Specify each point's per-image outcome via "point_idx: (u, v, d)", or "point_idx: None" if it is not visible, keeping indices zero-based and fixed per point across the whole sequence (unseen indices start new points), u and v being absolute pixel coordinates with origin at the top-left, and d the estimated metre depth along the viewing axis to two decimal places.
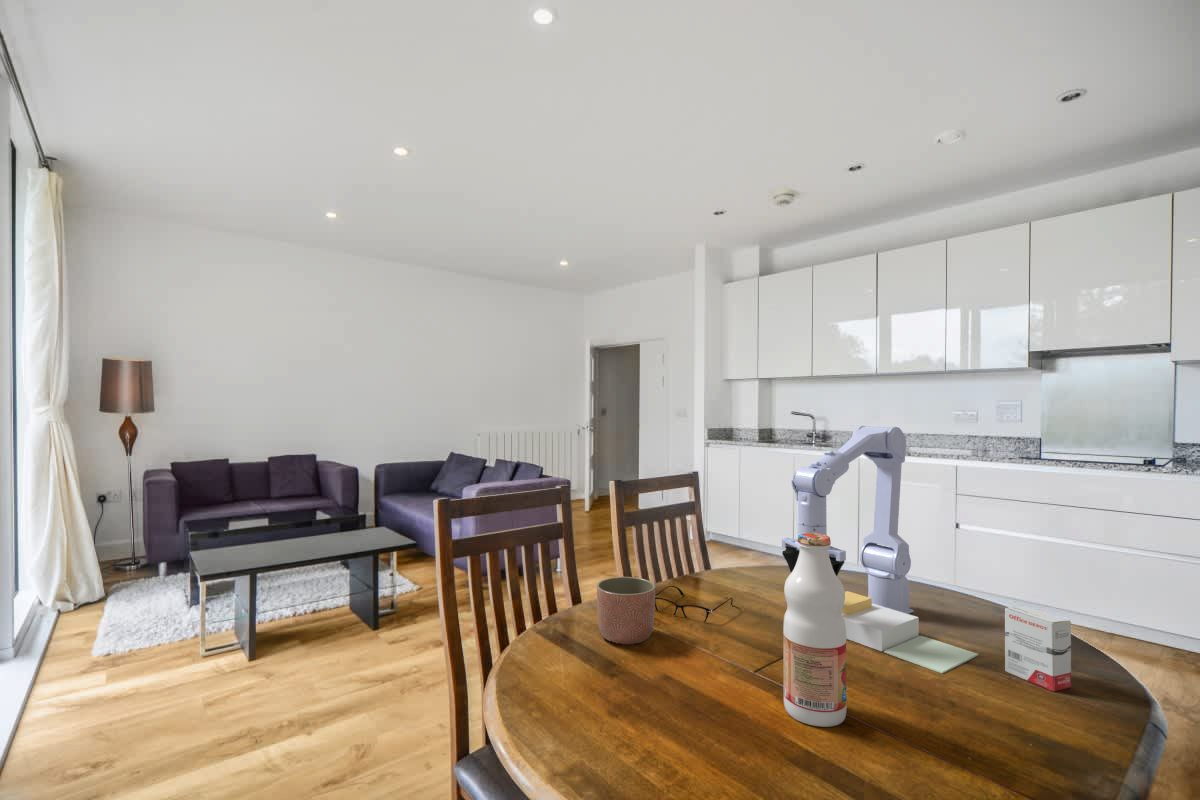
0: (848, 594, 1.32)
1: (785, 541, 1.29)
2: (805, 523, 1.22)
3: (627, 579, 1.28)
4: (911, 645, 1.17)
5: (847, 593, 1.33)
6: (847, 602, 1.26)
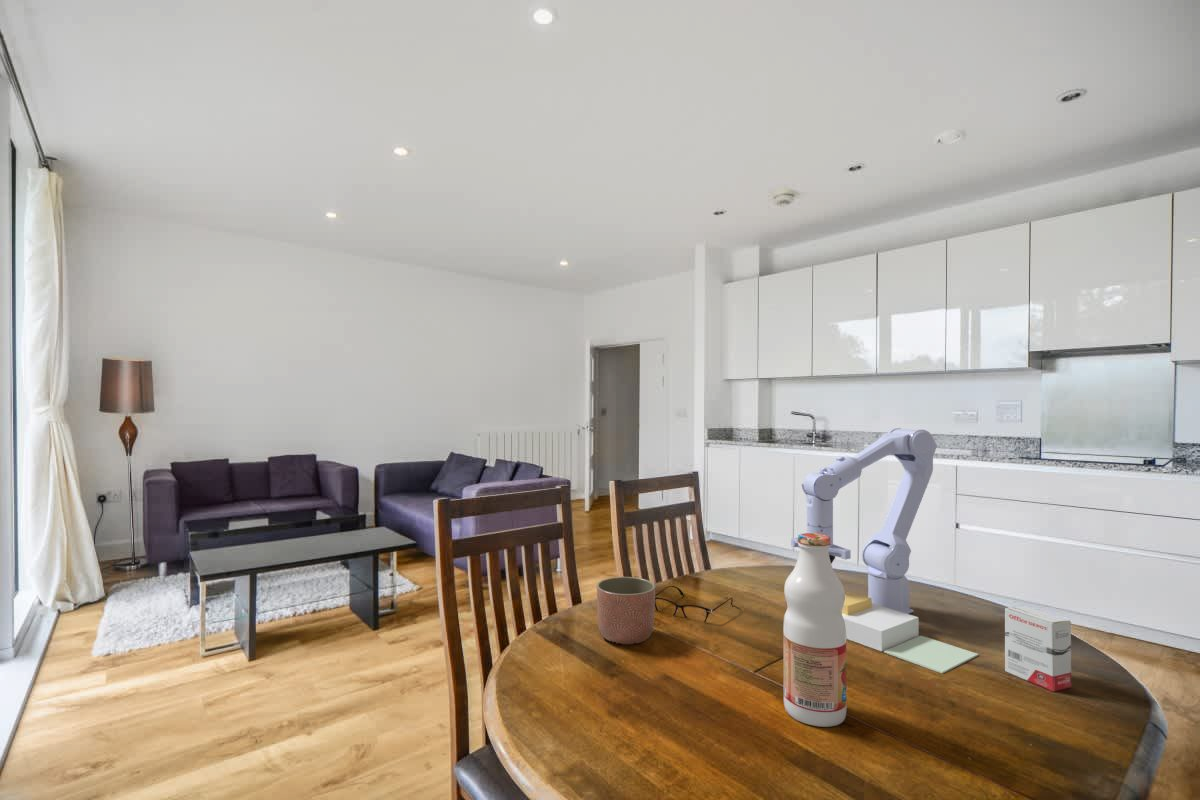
0: (848, 594, 1.32)
1: (794, 541, 1.40)
2: (809, 523, 1.34)
3: (627, 579, 1.28)
4: (911, 645, 1.17)
5: (847, 593, 1.33)
6: (847, 602, 1.26)
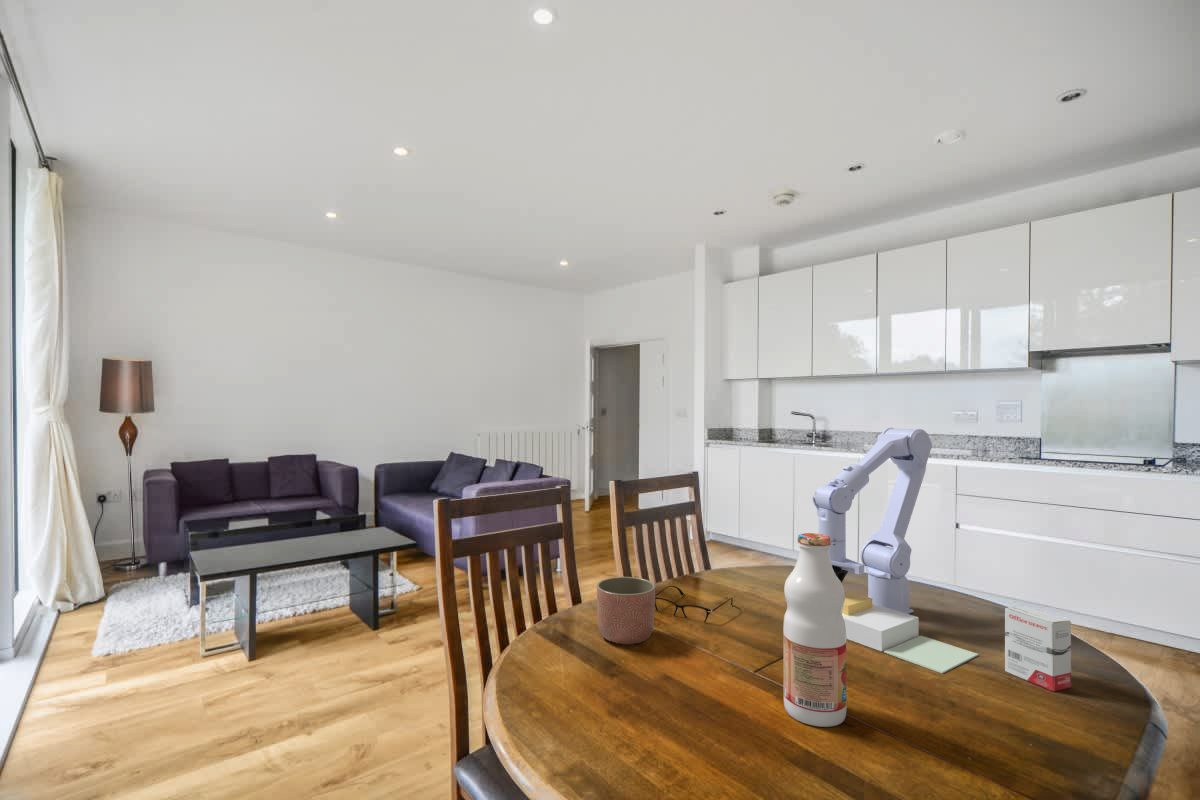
0: (849, 594, 1.32)
1: None
2: None
3: (627, 579, 1.28)
4: (911, 645, 1.17)
5: (848, 593, 1.32)
6: (848, 602, 1.26)
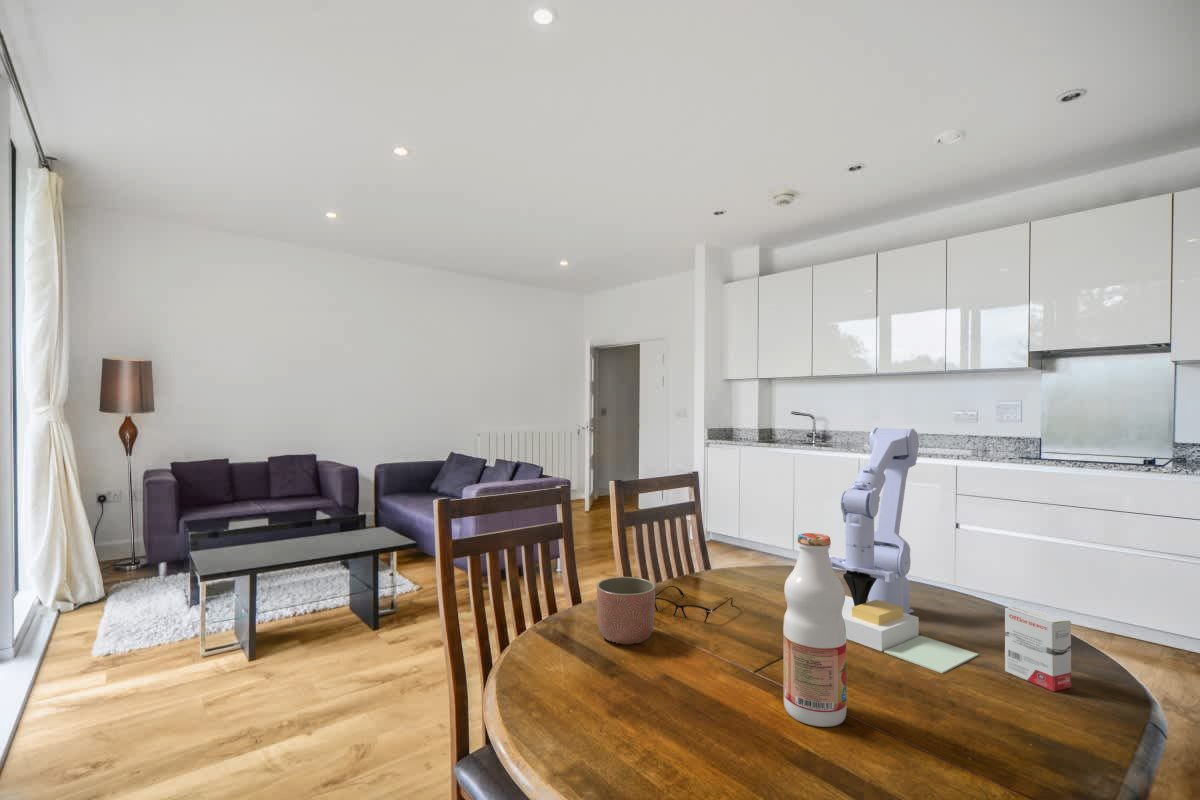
0: (878, 603, 1.26)
1: (832, 560, 1.31)
2: (857, 544, 1.24)
3: (627, 579, 1.28)
4: (911, 645, 1.17)
5: (877, 601, 1.27)
6: (878, 611, 1.21)
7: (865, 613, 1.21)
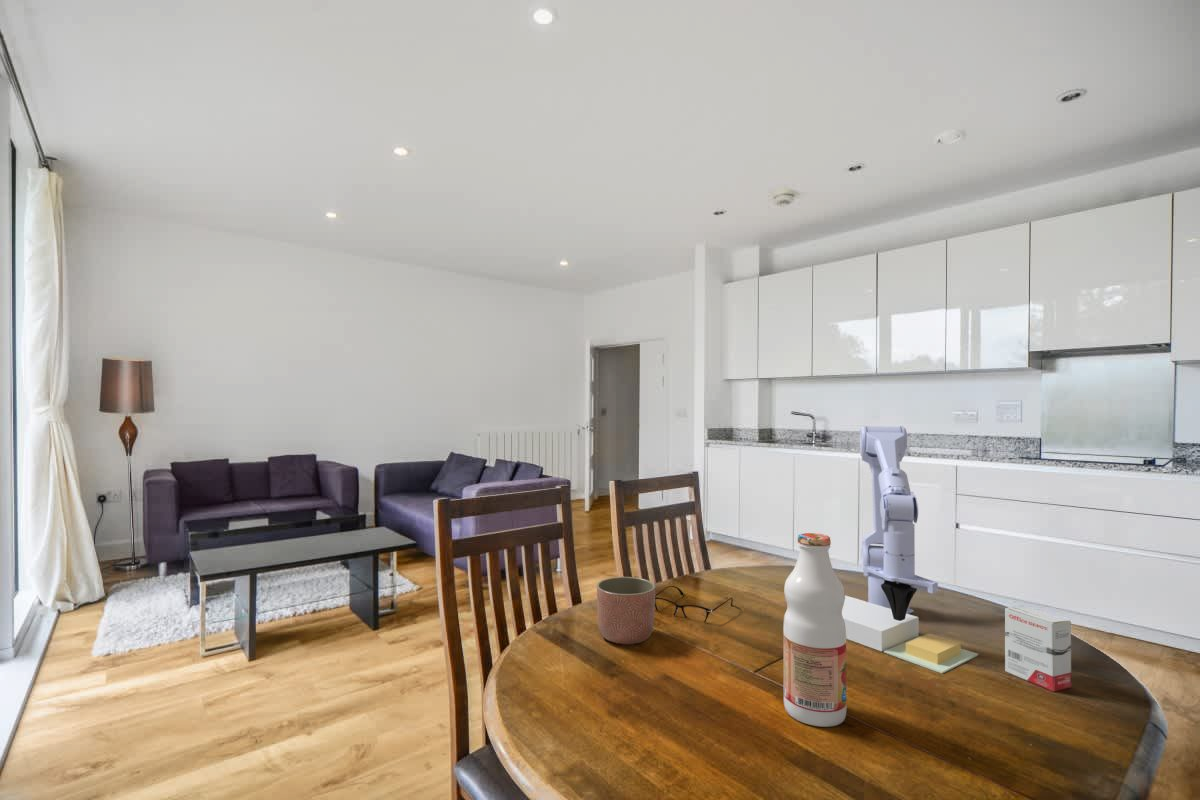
0: None
1: (868, 569, 1.24)
2: (904, 553, 1.17)
3: (627, 579, 1.28)
4: None
5: None
6: None
7: (920, 656, 1.11)
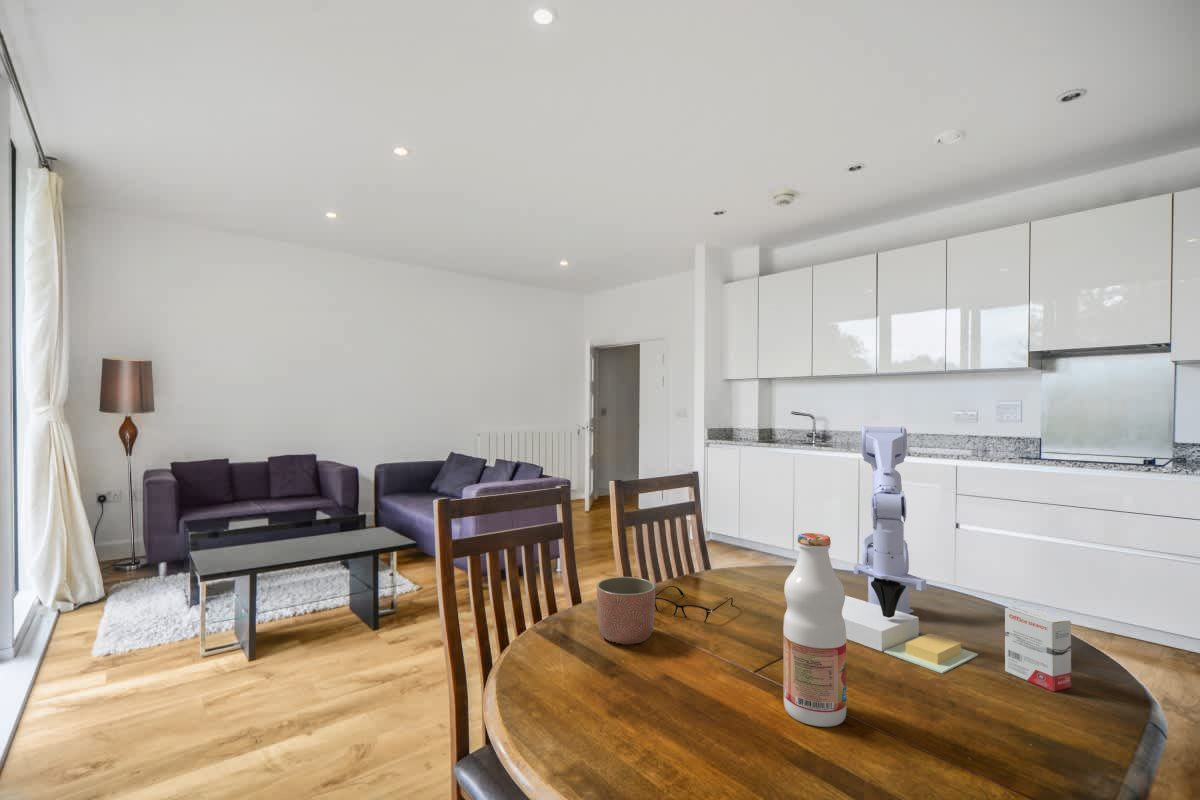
0: None
1: (858, 567, 1.26)
2: (891, 551, 1.19)
3: (627, 579, 1.28)
4: None
5: None
6: None
7: (920, 656, 1.11)
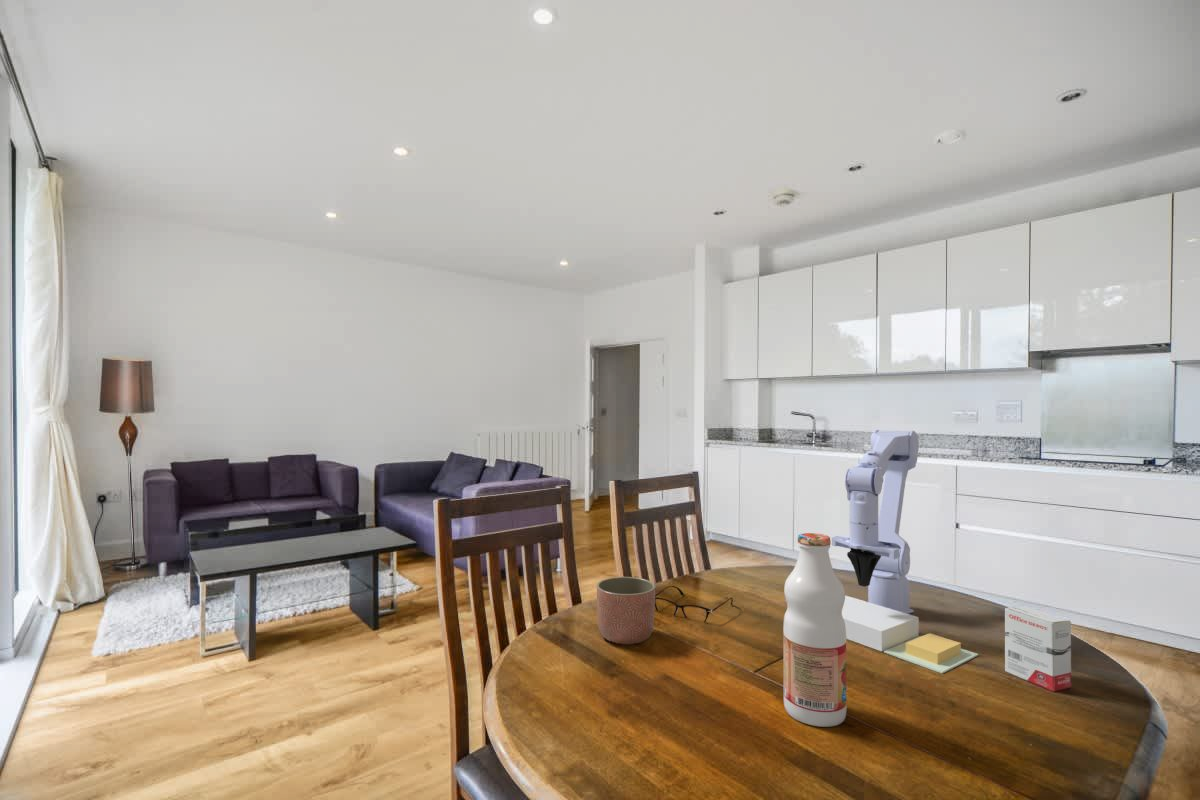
0: None
1: (835, 539, 1.30)
2: (862, 522, 1.24)
3: (627, 579, 1.28)
4: None
5: None
6: None
7: (920, 656, 1.11)
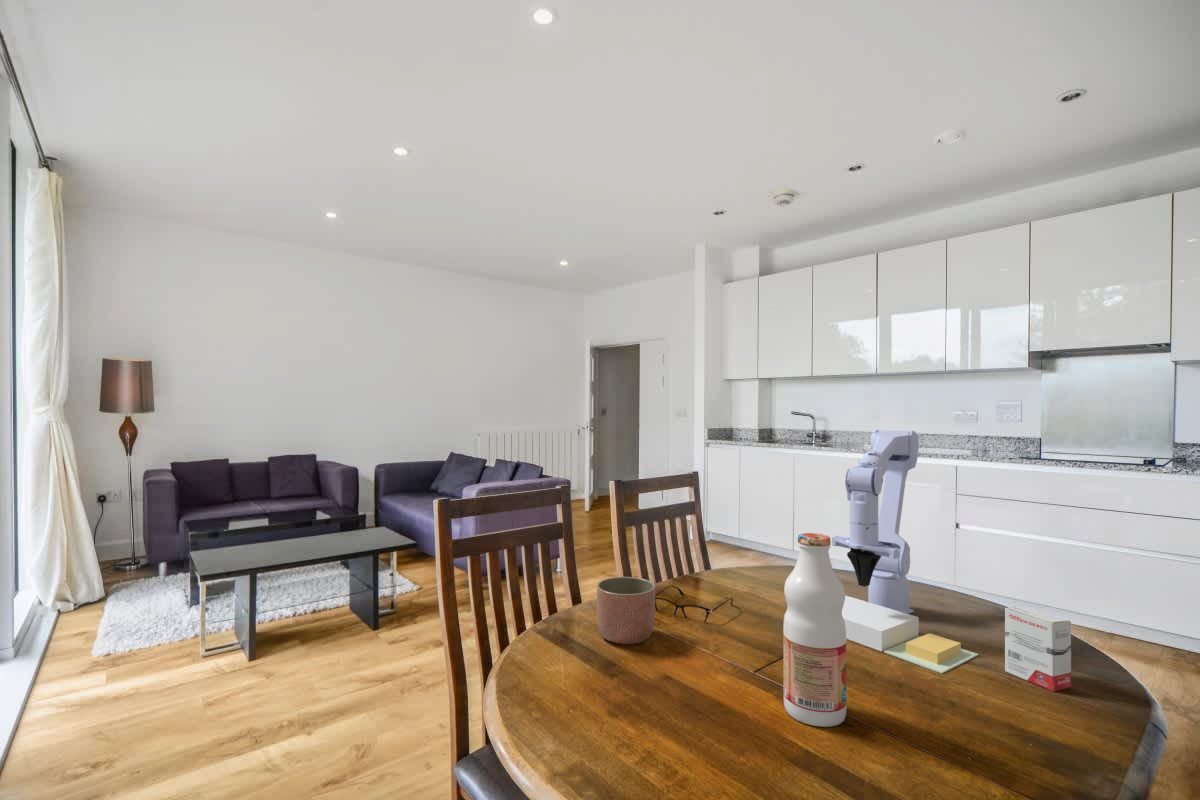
0: None
1: (835, 539, 1.30)
2: (862, 522, 1.24)
3: (627, 579, 1.28)
4: None
5: None
6: None
7: (920, 656, 1.11)
